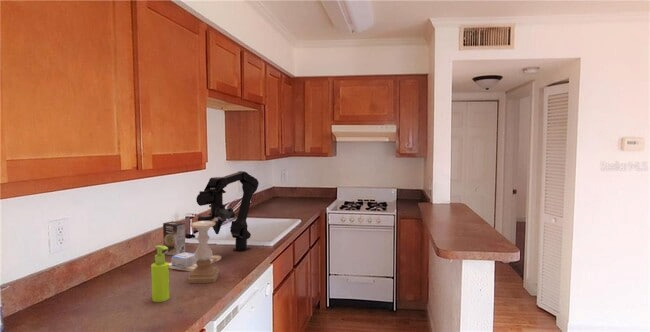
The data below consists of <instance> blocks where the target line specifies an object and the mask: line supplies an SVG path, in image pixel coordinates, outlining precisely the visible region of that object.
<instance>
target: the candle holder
mask: <svg viewBox="0 0 650 332" xmlns="http://www.w3.org/2000/svg"><path fill="white" fill-rule="evenodd" d="M215 224H216V223H215V222H214V221H198V220H197V221H193V222H191V223H190V227H191V228H193V229H196V230H197V231H198V236H197V237H196V240H197V241H198V246H197V248H196V249H195V251H194V253H195V258H196V259H198V261H197V262H196V265H197V266H198V267H196V268H195V269H194V270H193V271H192V272H191V273H190V275H189V276H188V278H187V284H213V283H216V281H217V279H218V277H219V275H220V270H219V268H218V267H217V266H212V265H211V260H210V259H209V258H211V257H212V255H214V254H213V250H212V248H211V247H210V246H209V244H208V242H209V239H210V236H209V234H208V231H209V230H210V228H213V227H212V226H214V225H215Z"/></svg>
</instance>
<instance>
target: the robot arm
mask: <svg viewBox="0 0 650 332" xmlns="http://www.w3.org/2000/svg"><path fill="white" fill-rule="evenodd" d="M235 182H239V183H241V188H242V192H243V194H242V198H241V202H240V206H239V209H238V213H237V216H236V215H235V212H234V208H232V207H230V208H226V205H225V204H223V198H224V197H223V194H226V193H227V191H226V190H225V188H227V186H228V185H231V184H233V183H235ZM259 184H260V183H259V180H258V179H257V178H255V177H254V176H252V175H251V174H249V172H246V171H241V170H240V171H237V172H234V173H231V174H228V175H225V176H216V177H210V178H209V179H208V182H207V184H206V186H205V188H204V190H203V191H201V190H200V191H199V194H198V195H197V196H196V203H197V205H198V206H201V207H202V206H208V207H209V208H210V212H209V213H208V215H206V214H204V215H199V216H198V217H197V221H214V222H215V223H216V224H215V225H214V226H212V227H211V228H212V229H213V231H214V233H215V234H216V235H219V233H220V230H221V228H222V225H223V224H224V222H226V221H227V220H230V219H233V218H235V217H236V219H235V220H232V221H231V225H230V227H229V229H230V230H229V231H230V234H231V237H232V238H233V239H235V247H234V248H233V251H241V252H244V251H246V250H248V249H250V246H248V240H249V239H250V238H251V235H252V234H251V233H250V231H249V230H248V227H249V226H248V222H247V218H248V213H249V211H250V205H251V202H252V198H253V195H254V194H255V193H256V192H257V189H258V187H259Z"/></svg>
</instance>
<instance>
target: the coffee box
mask: <svg viewBox="0 0 650 332" xmlns="http://www.w3.org/2000/svg"><path fill="white" fill-rule="evenodd" d="M162 225H163V226H162V227H163V228H162V231H163V233H162V234H163V246H166V247H168V249H166V250H163V254H165V255H168V256H175V255H178V254H180V253H183V252H186V223H185V222H180V221H168V222H167V221H166V222H163V223H162Z"/></svg>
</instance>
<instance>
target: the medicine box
mask: <svg viewBox="0 0 650 332" xmlns="http://www.w3.org/2000/svg"><path fill="white" fill-rule="evenodd" d="M197 261H198V259H196V258H195V252H187V251H185V252H183V253H180V254H178V255H175V256H174V255H171V261H170V263H171V262H172V266H176V267H182V268H187V267H189V266H191V265H194V264H196V262H197Z"/></svg>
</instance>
